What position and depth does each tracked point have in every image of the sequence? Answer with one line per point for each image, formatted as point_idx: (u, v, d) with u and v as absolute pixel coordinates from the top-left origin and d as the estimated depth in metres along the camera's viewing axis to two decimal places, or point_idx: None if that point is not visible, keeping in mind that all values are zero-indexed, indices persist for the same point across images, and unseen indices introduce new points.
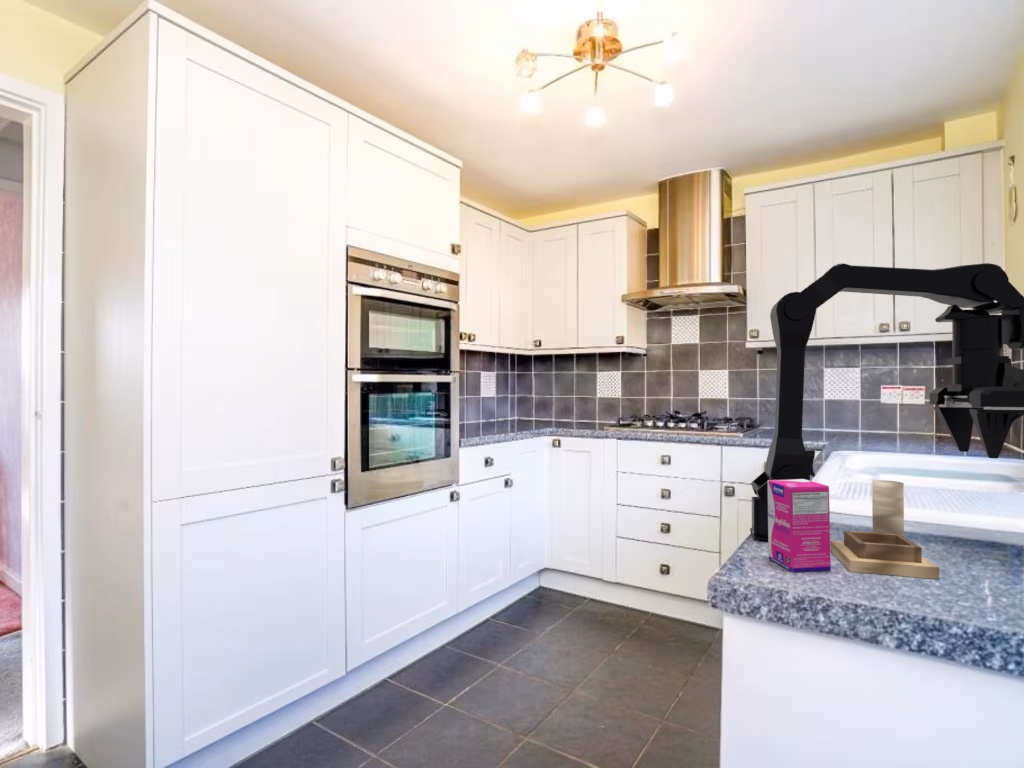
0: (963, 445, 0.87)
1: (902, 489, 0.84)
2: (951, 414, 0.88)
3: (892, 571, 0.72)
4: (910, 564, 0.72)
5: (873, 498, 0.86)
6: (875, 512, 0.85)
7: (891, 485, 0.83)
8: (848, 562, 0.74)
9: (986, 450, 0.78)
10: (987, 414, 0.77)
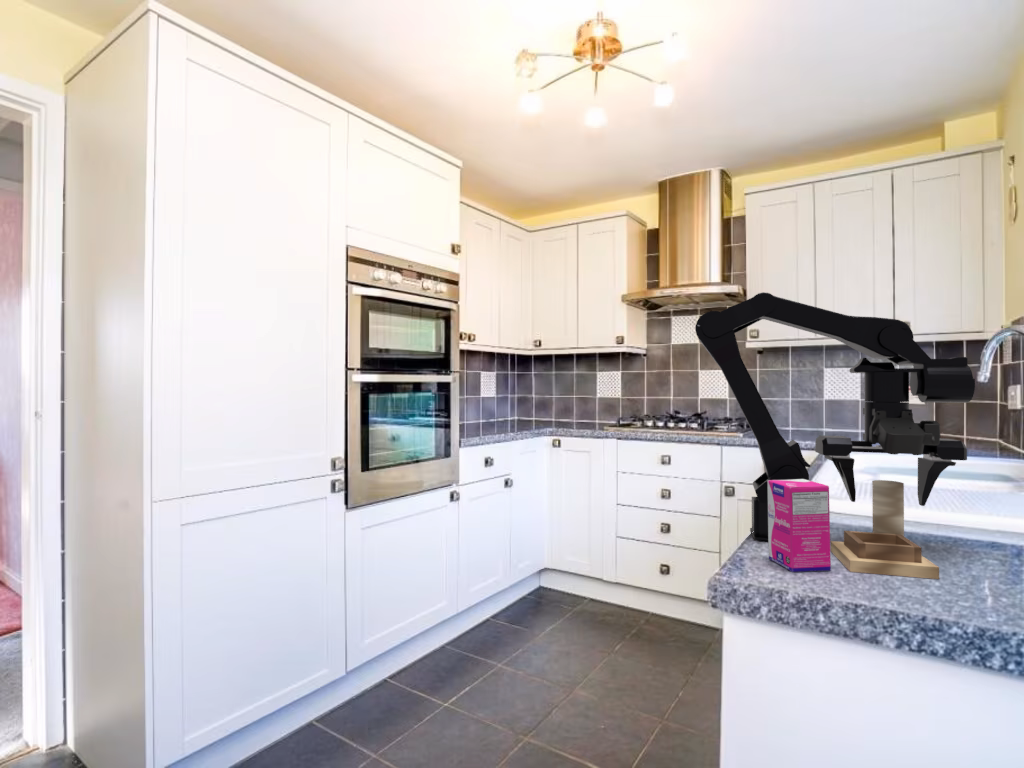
0: (919, 498, 0.84)
1: (902, 489, 0.84)
2: (920, 465, 0.85)
3: (892, 571, 0.72)
4: (910, 564, 0.72)
5: (873, 498, 0.86)
6: (875, 512, 0.85)
7: (891, 485, 0.83)
8: (848, 562, 0.74)
9: None
10: None
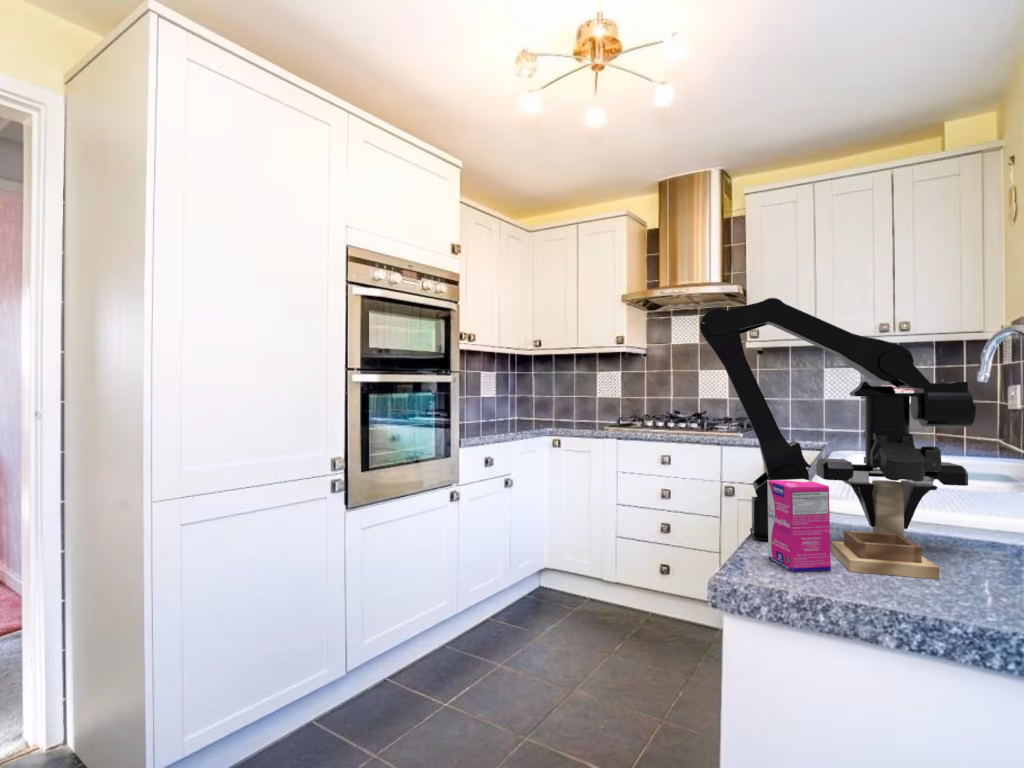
0: None
1: (902, 489, 0.84)
2: None
3: (892, 571, 0.72)
4: (910, 564, 0.72)
5: (873, 498, 0.86)
6: (875, 512, 0.85)
7: (891, 485, 0.83)
8: (848, 562, 0.74)
9: None
10: None
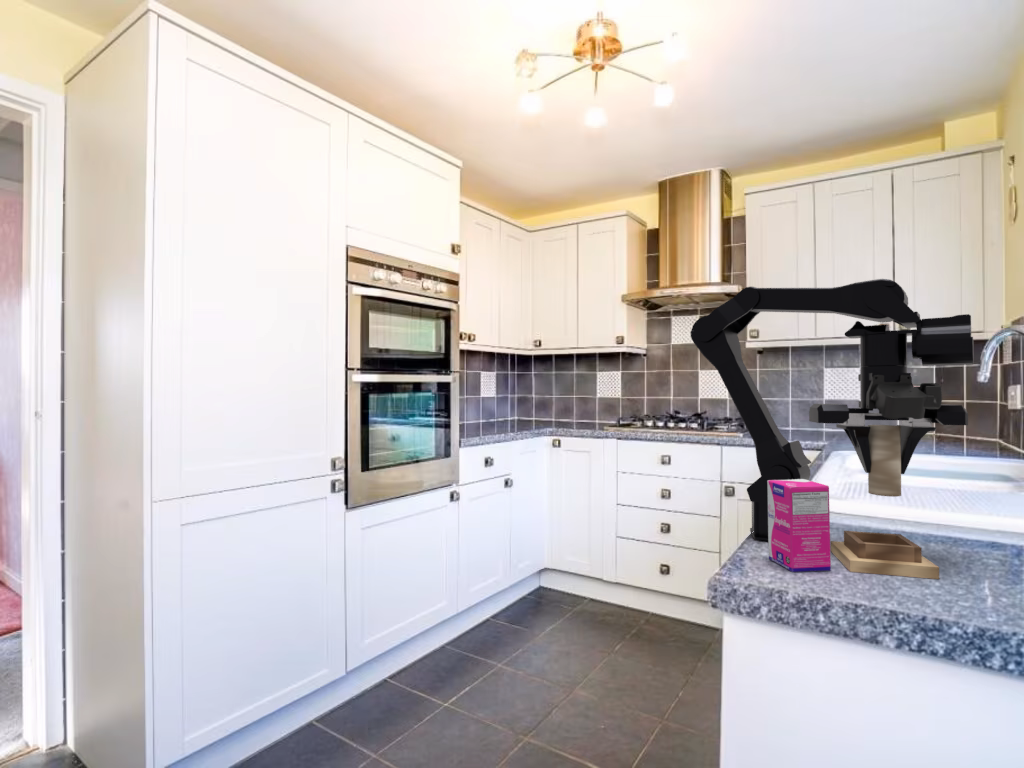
0: None
1: (899, 432, 0.80)
2: None
3: (892, 571, 0.72)
4: (910, 564, 0.72)
5: (869, 443, 0.81)
6: (871, 457, 0.81)
7: (888, 427, 0.79)
8: (848, 562, 0.74)
9: None
10: (850, 429, 0.84)
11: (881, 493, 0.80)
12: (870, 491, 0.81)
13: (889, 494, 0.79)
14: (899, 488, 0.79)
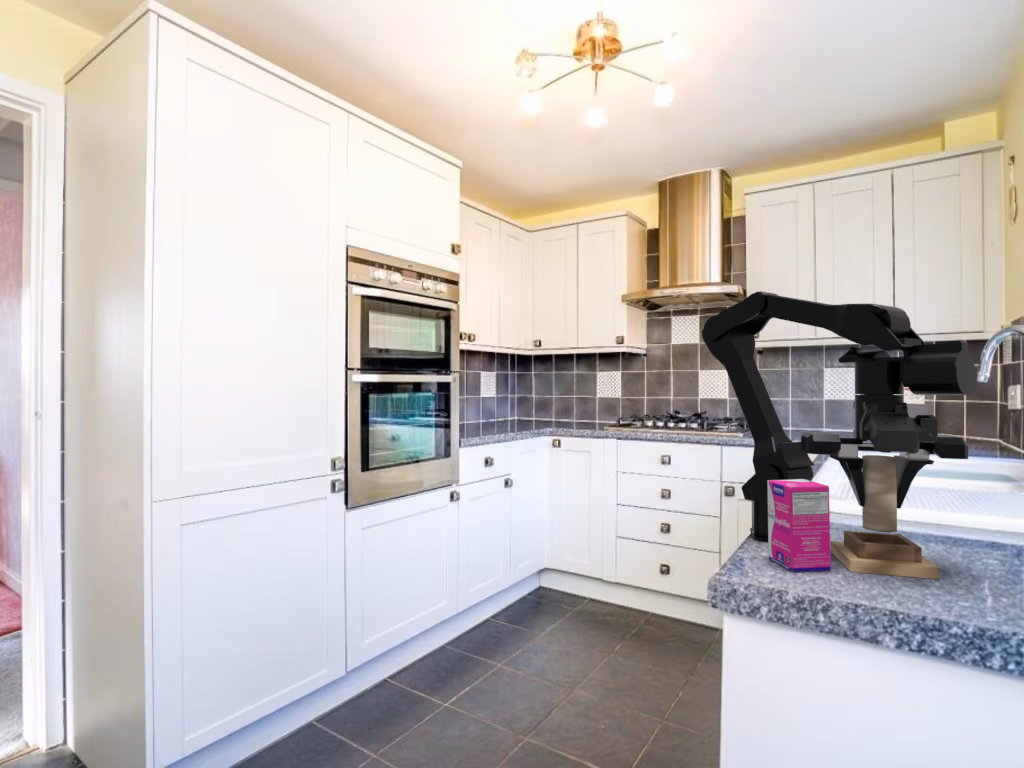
0: None
1: (895, 464, 0.75)
2: None
3: (892, 571, 0.72)
4: (910, 564, 0.72)
5: (863, 474, 0.77)
6: (865, 490, 0.77)
7: (883, 459, 0.75)
8: (848, 562, 0.74)
9: None
10: None
11: (875, 528, 0.76)
12: (864, 525, 0.77)
13: (883, 530, 0.75)
14: (894, 524, 0.75)
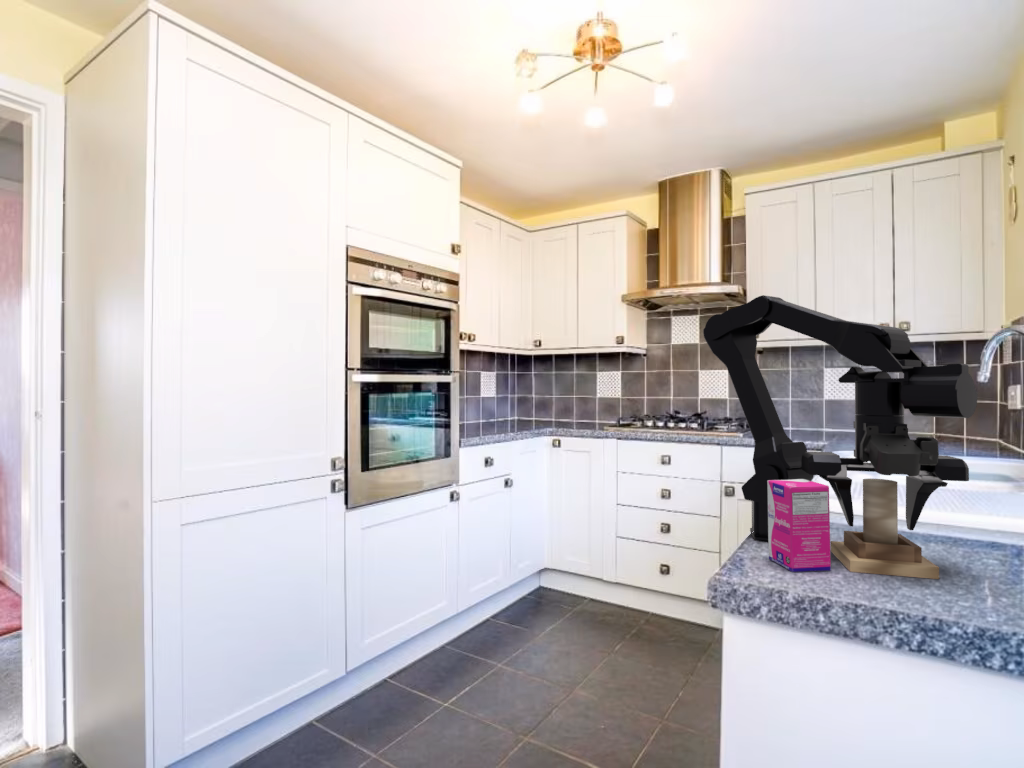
0: (908, 522, 0.76)
1: (896, 489, 0.75)
2: (909, 485, 0.77)
3: (892, 571, 0.72)
4: (910, 564, 0.72)
5: (864, 498, 0.77)
6: (866, 514, 0.77)
7: (883, 484, 0.75)
8: (848, 562, 0.74)
9: (846, 516, 0.79)
10: None
11: None
12: None
13: None
14: None
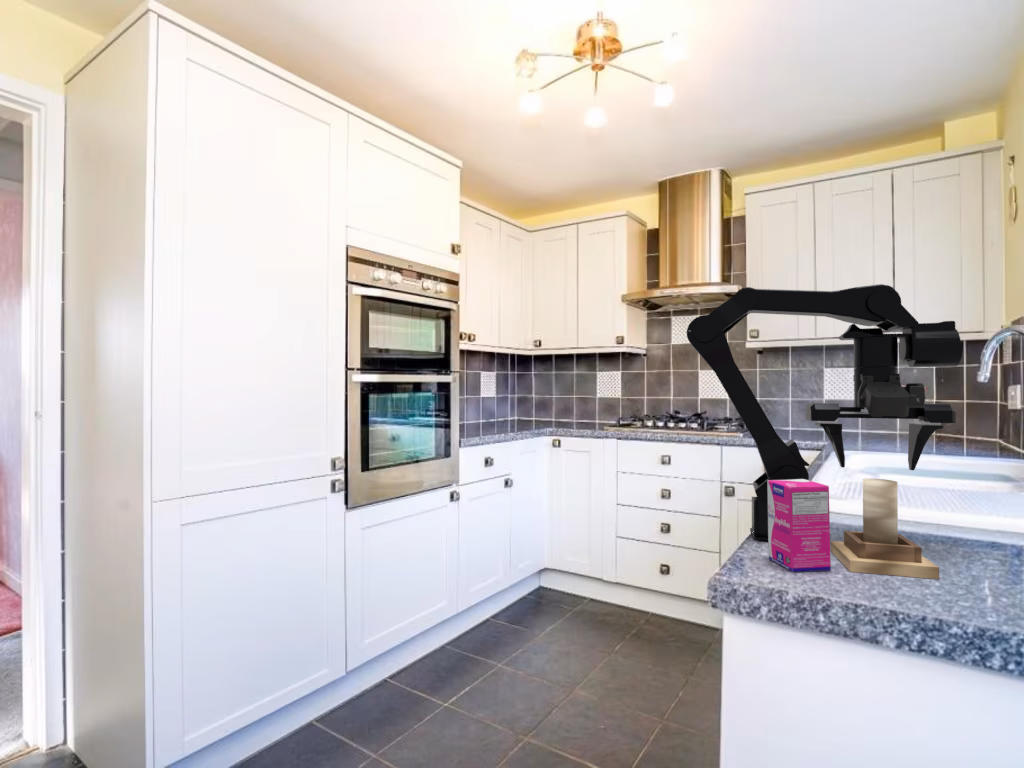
0: (909, 463, 0.84)
1: (896, 488, 0.75)
2: (911, 431, 0.85)
3: (892, 571, 0.72)
4: (910, 564, 0.72)
5: (864, 498, 0.77)
6: (866, 514, 0.77)
7: (883, 484, 0.75)
8: (848, 562, 0.74)
9: (839, 459, 0.88)
10: (827, 426, 0.89)
11: None
12: None
13: None
14: None
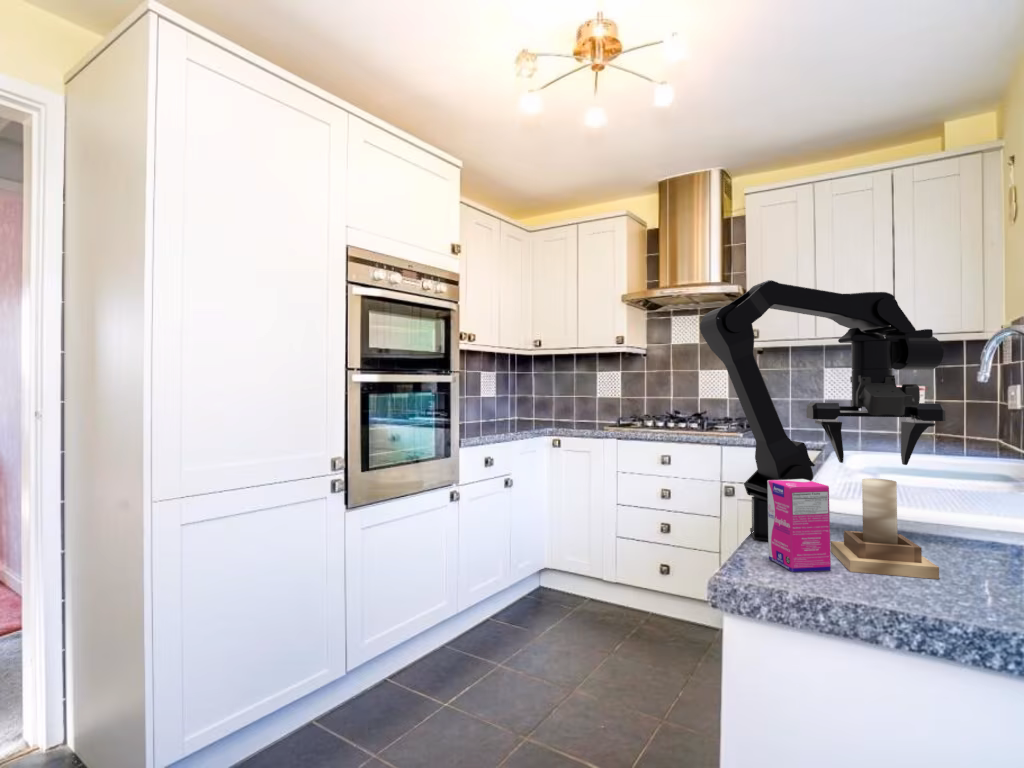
0: (902, 458, 0.91)
1: (895, 488, 0.75)
2: (903, 428, 0.92)
3: (892, 571, 0.72)
4: (910, 564, 0.72)
5: (863, 498, 0.77)
6: (866, 514, 0.77)
7: (883, 484, 0.75)
8: (848, 562, 0.74)
9: None
10: (826, 424, 0.95)
11: None
12: None
13: None
14: None
